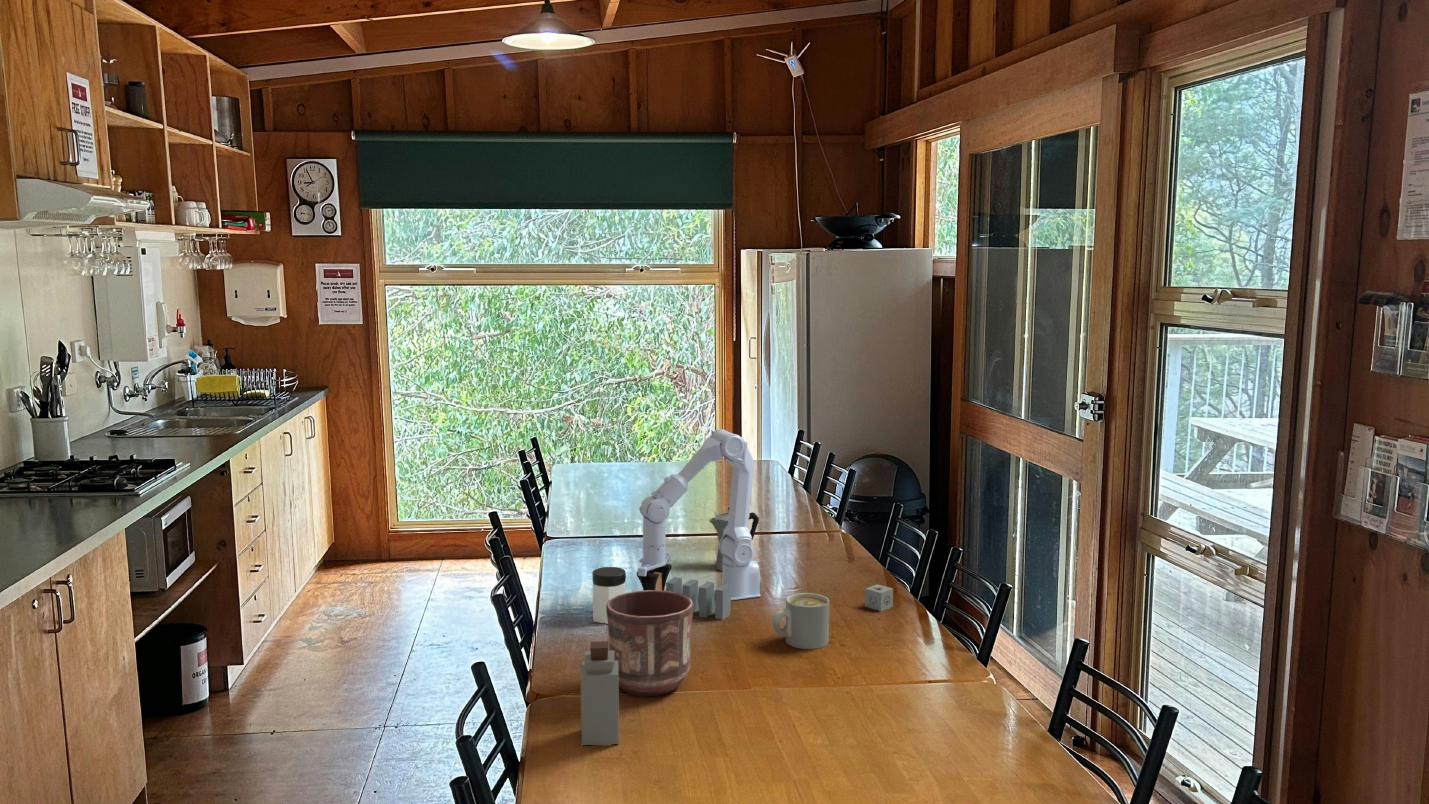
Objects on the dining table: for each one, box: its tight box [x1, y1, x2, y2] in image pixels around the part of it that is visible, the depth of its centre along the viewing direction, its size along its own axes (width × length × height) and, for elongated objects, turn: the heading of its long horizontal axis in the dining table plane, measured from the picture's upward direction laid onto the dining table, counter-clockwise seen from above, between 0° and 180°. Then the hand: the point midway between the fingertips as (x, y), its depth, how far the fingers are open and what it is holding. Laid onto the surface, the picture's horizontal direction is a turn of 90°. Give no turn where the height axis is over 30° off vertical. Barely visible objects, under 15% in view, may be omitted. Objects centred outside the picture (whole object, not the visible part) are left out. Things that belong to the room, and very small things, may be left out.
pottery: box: [606, 590, 694, 697], centre depth 215 cm, size 18×18×18 cm
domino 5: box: [714, 584, 732, 621], centre depth 257 cm, size 2×5×8 cm, turn 157°
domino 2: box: [665, 576, 683, 594], centre depth 263 cm, size 2×5×8 cm, turn 157°
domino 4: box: [698, 581, 715, 618], centre depth 259 cm, size 2×5×8 cm, turn 156°
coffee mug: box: [772, 592, 830, 650], centre depth 241 cm, size 13×10×10 cm
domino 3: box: [682, 579, 699, 613], centre depth 261 cm, size 2×5×8 cm, turn 157°
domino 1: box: [654, 572, 662, 591], centre depth 265 cm, size 2×5×8 cm, turn 156°
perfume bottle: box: [580, 640, 620, 746], centre depth 192 cm, size 7×7×18 cm
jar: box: [592, 566, 627, 625], centre depth 255 cm, size 9×8×12 cm
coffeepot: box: [709, 506, 760, 572], centre depth 297 cm, size 15×9×18 cm, turn 113°
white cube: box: [864, 584, 894, 612], centre depth 265 cm, size 5×5×5 cm
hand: (654, 595), depth 265 cm, fingers closed on domino 1, 5 cm apart
